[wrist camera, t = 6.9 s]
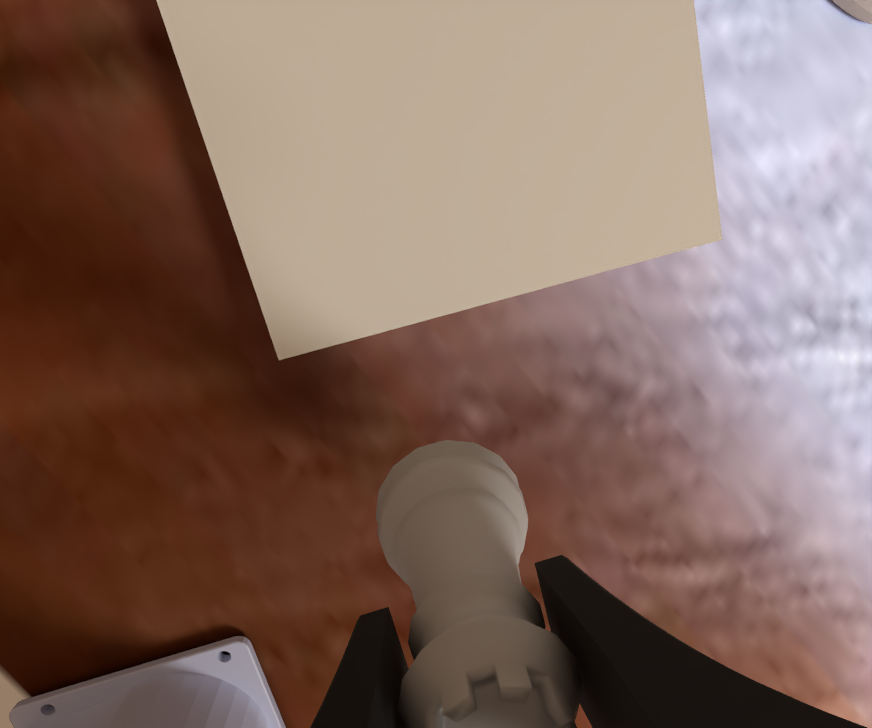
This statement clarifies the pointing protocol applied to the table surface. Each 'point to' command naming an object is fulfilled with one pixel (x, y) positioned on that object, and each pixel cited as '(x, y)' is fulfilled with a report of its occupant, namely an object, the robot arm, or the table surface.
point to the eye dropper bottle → (857, 9)
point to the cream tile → (444, 149)
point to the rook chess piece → (471, 596)
